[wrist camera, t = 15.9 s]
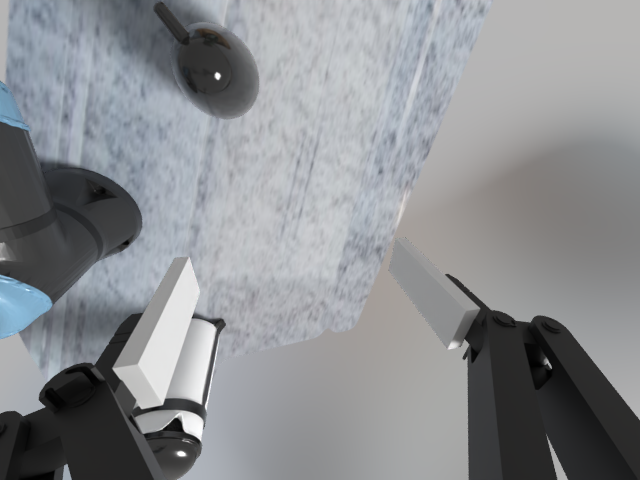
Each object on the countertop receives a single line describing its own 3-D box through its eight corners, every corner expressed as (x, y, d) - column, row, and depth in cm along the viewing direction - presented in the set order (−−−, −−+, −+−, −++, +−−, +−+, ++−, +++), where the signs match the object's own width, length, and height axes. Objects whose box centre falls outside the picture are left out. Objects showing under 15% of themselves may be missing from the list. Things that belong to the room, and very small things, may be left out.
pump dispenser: (223, 13, 31) (196, -48, 18) (273, 90, 37) (279, 84, 24) (167, 63, 33) (106, 39, 20) (223, 131, 38) (203, 146, 25)
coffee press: (143, 316, 53) (33, 513, 27) (216, 300, 55) (176, 470, 30) (175, 360, 62) (114, 539, 36) (236, 346, 64) (219, 505, 39)
